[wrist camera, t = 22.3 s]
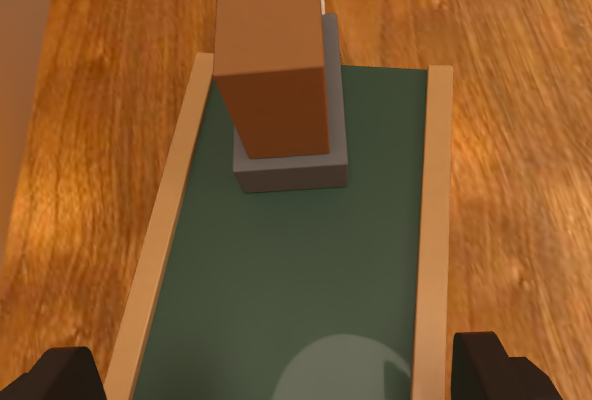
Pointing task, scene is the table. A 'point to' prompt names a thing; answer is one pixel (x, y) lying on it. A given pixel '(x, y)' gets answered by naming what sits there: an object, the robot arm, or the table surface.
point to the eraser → (282, 93)
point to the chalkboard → (297, 259)
